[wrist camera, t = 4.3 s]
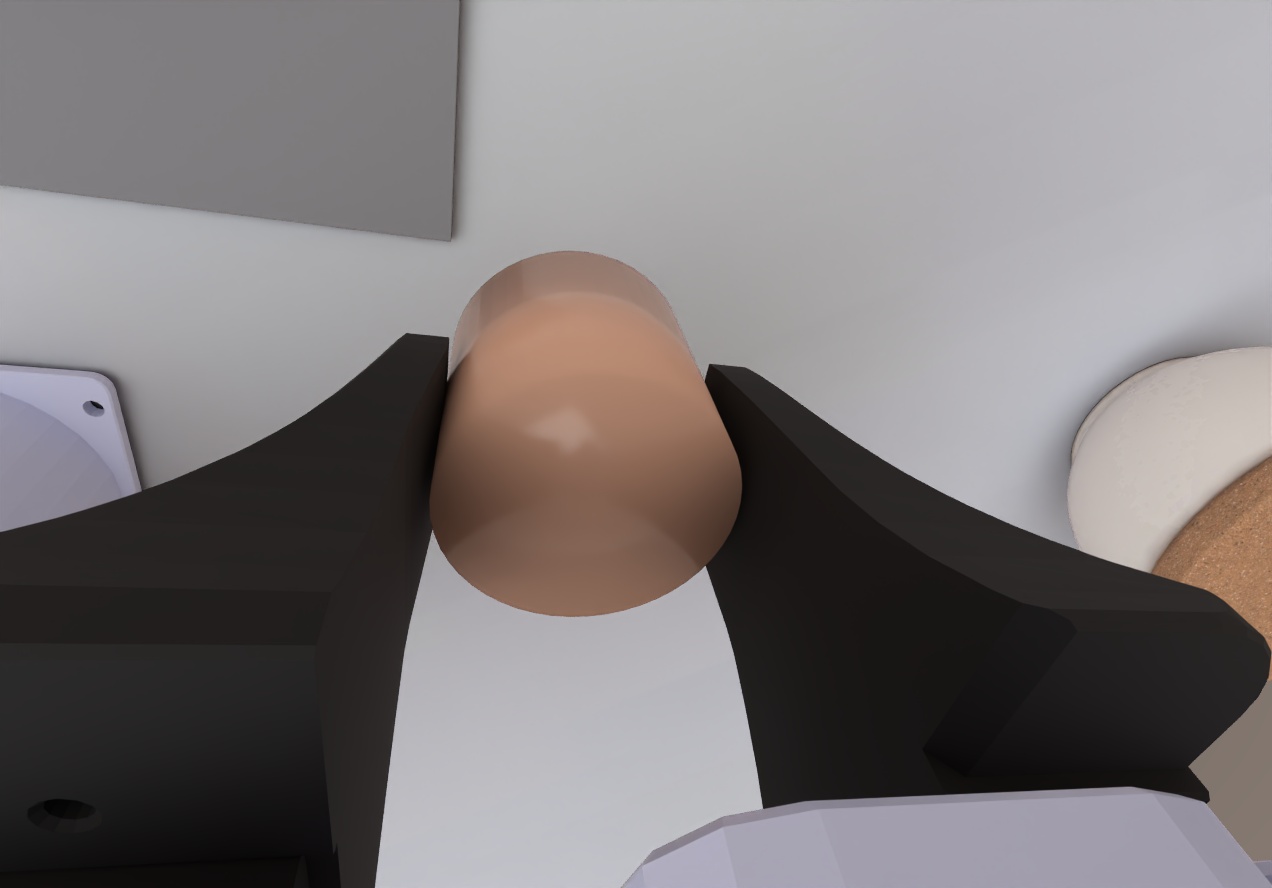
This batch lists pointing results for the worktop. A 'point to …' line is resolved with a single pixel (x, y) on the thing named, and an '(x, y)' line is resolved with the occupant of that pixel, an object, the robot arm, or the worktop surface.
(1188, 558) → the lidded jar
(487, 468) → the peach rounded cylinder
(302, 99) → the slate mat
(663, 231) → the worktop surface
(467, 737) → the worktop surface
